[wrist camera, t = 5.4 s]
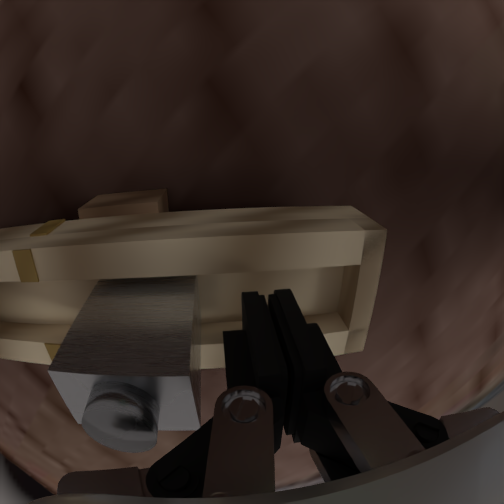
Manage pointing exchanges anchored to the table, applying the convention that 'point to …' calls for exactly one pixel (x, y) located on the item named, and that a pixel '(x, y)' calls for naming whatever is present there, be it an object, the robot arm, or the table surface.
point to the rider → (133, 361)
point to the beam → (190, 267)
